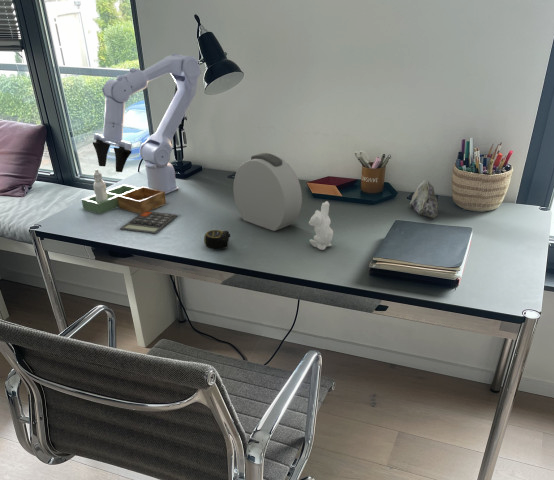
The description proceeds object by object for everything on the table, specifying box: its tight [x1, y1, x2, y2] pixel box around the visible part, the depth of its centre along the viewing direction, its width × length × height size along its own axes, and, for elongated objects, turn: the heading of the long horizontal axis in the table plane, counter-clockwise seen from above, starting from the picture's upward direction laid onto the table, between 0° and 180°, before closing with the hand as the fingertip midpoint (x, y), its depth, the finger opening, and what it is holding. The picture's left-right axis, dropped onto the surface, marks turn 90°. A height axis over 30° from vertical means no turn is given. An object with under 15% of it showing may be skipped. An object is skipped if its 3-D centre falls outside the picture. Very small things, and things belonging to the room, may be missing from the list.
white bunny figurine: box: [308, 200, 334, 251], centre depth 152 cm, size 8×7×12 cm
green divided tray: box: [81, 183, 139, 215], centre depth 183 cm, size 18×8×3 cm, turn 147°
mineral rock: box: [409, 179, 439, 219], centre depth 173 cm, size 13×11×10 cm
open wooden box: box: [117, 185, 167, 215], centre depth 181 cm, size 11×10×4 cm
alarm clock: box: [232, 152, 303, 232], centre depth 165 cm, size 21×8×20 cm, turn 47°
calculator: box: [119, 211, 178, 235], centre depth 171 cm, size 12×1×15 cm
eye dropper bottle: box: [92, 168, 108, 202], centre depth 178 cm, size 4×6×12 cm
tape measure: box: [203, 229, 231, 250], centre depth 155 cm, size 7×7×4 cm
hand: (110, 169), depth 178 cm, fingers open, 7 cm apart
